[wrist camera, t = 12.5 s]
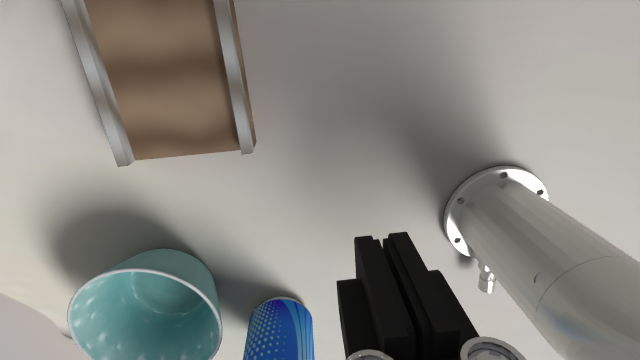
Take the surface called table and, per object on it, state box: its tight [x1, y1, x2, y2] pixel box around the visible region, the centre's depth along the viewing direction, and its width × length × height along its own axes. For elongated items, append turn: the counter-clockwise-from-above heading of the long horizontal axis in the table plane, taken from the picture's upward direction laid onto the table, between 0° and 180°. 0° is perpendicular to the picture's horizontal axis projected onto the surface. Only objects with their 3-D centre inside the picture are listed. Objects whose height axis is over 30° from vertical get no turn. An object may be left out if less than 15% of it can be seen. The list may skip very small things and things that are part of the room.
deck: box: [61, 0, 256, 167], centre depth 30 cm, size 24×13×4 cm, turn 5°
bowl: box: [67, 249, 222, 360], centre depth 40 cm, size 16×16×8 cm
